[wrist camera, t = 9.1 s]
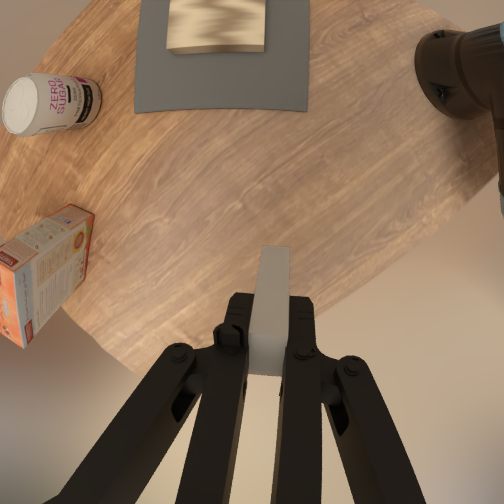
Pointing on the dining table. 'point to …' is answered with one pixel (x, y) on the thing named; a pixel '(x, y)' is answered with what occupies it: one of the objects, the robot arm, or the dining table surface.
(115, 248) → the dining table surface
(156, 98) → the mat
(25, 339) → the cracker box
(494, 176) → the dining table surface
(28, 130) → the supplement can
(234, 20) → the wooden block
